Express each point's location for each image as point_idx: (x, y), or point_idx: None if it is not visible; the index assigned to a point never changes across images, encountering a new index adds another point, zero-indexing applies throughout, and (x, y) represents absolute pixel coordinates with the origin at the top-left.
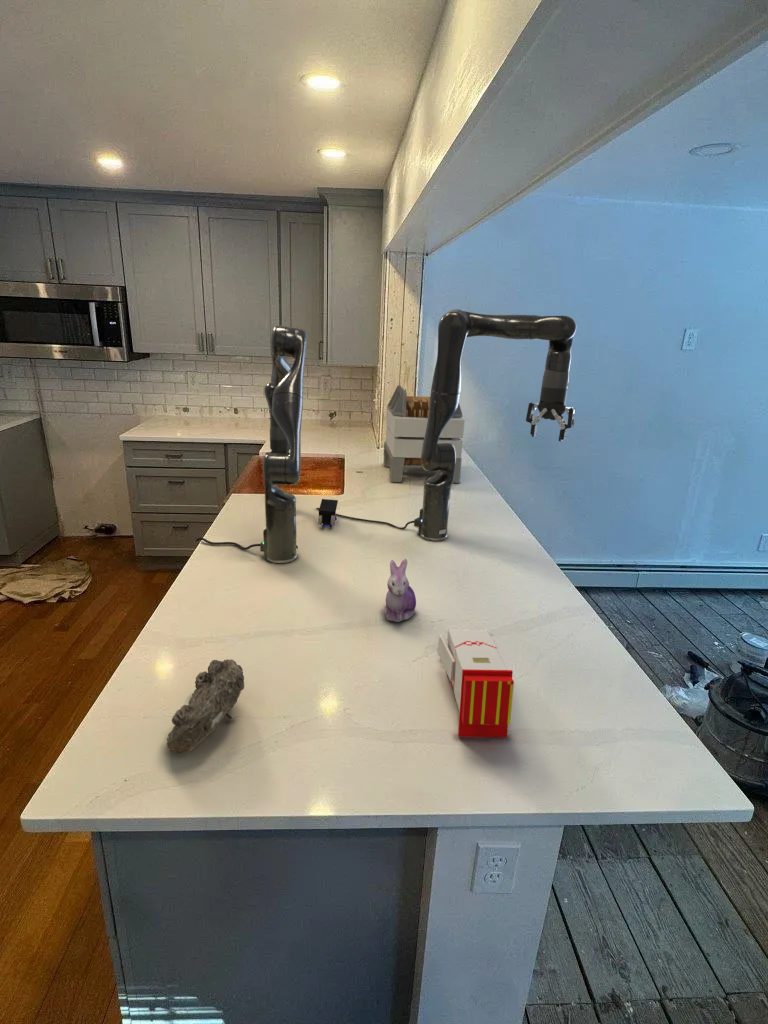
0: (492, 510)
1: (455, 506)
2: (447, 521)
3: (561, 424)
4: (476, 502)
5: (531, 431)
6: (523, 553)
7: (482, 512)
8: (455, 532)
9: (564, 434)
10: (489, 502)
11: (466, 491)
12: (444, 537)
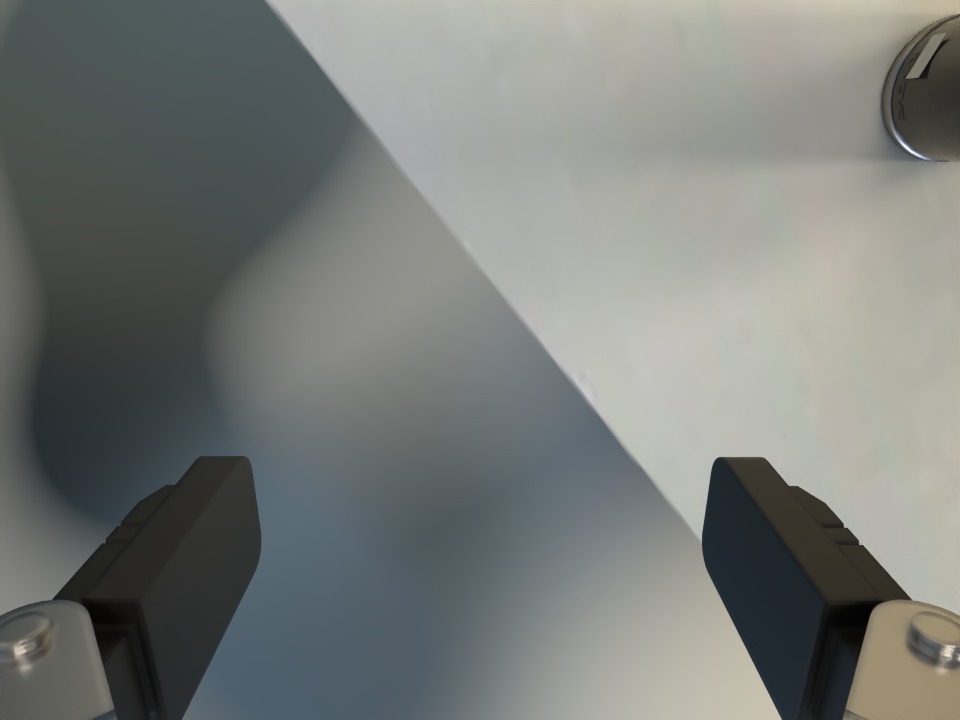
0: None
1: (951, 510)
2: (944, 101)
3: (38, 706)
4: None
5: (820, 523)
6: (505, 184)
7: None
8: (861, 213)
9: (97, 552)
10: None
11: None
12: (893, 79)
